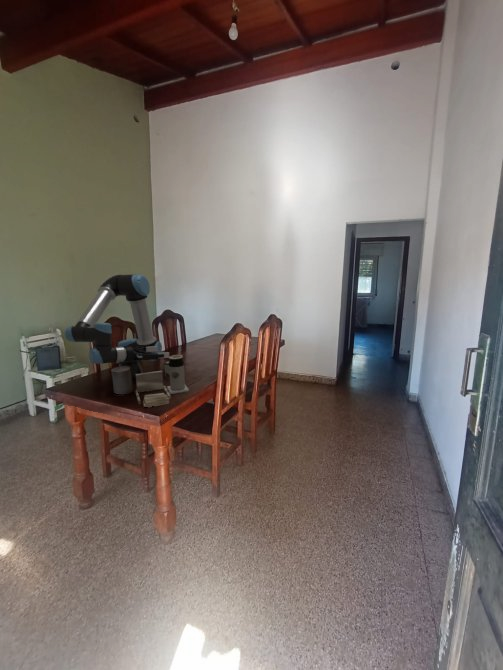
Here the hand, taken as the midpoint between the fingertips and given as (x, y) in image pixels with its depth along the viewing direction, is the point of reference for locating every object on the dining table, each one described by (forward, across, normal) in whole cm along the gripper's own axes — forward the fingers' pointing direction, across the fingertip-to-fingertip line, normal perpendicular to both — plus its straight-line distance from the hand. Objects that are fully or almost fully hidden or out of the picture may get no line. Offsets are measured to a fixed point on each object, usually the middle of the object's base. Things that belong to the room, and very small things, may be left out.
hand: (163, 351), depth 183 cm
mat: (+8, +5, -21) cm, 23 cm away
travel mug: (+8, +5, -20) cm, 22 cm away
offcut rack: (-7, +6, -23) cm, 25 cm away
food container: (+18, -15, -22) cm, 32 cm away
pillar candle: (-16, -12, -25) cm, 32 cm away
